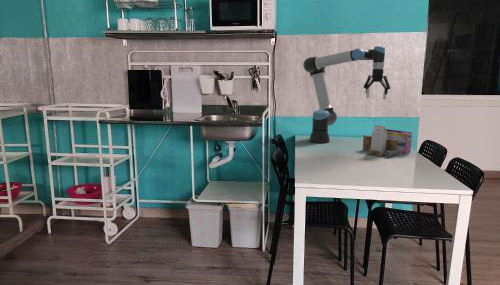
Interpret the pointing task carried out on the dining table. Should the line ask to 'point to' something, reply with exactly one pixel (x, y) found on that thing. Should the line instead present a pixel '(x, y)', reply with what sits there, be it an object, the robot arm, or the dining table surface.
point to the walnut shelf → (367, 146)
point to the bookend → (390, 153)
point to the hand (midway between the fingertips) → (375, 98)
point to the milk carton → (379, 139)
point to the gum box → (401, 140)
